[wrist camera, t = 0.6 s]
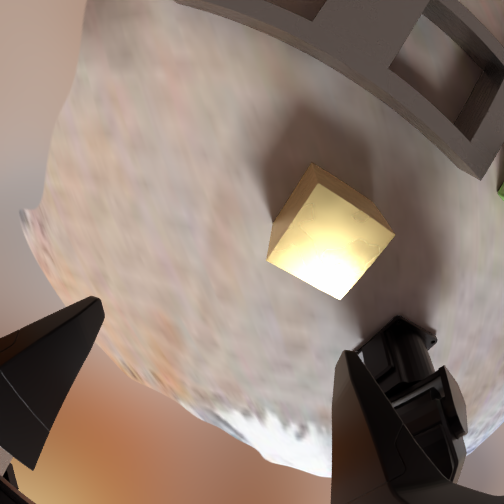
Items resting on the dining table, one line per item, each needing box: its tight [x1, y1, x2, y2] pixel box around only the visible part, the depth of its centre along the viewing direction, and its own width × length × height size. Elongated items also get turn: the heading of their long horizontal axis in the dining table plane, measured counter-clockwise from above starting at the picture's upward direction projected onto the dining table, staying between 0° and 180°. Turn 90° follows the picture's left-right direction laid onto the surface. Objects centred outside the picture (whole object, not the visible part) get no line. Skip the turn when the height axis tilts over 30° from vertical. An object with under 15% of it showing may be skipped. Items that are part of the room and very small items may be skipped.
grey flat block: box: [174, 0, 504, 181], centre depth 11 cm, size 22×9×3 cm, turn 62°
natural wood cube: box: [266, 163, 395, 300], centre depth 17 cm, size 5×5×5 cm
